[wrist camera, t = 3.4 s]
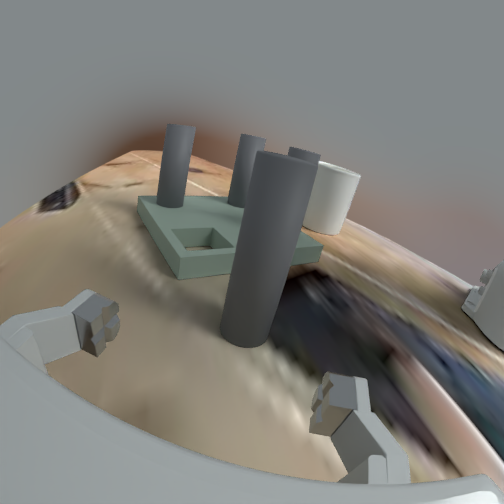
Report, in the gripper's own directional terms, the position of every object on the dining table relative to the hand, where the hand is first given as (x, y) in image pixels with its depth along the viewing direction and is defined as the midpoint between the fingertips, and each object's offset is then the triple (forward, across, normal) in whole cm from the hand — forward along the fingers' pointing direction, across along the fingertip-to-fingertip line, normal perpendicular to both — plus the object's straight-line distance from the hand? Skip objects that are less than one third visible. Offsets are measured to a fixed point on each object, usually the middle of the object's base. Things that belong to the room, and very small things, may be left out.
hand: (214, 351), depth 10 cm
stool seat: (+30, +8, +8) cm, 32 cm away
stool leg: (+11, 0, +8) cm, 14 cm away
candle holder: (+47, -7, +8) cm, 48 cm away
